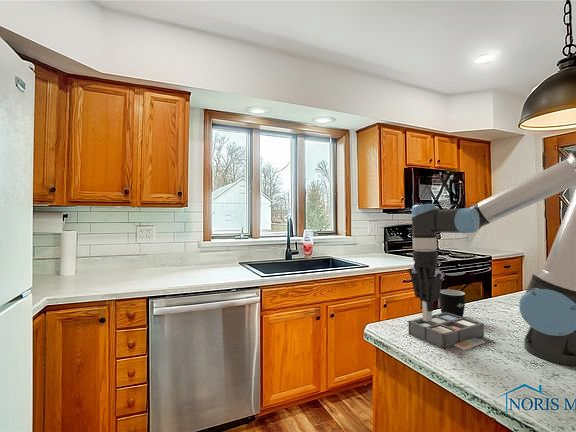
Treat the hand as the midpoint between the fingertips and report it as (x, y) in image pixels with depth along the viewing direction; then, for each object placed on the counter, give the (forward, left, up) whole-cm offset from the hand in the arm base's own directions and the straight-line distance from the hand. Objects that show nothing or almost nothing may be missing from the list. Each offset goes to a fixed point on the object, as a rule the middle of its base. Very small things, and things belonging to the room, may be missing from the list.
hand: (427, 320), depth 101 cm
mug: (+8, -25, -6) cm, 27 cm away
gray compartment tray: (-4, -6, -5) cm, 9 cm away
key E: (+1, 0, -4) cm, 4 cm away
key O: (-5, -12, -3) cm, 13 cm away
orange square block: (-5, -6, -4) cm, 9 cm away
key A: (+1, -12, -3) cm, 12 cm away
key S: (-5, 0, -3) cm, 6 cm away
